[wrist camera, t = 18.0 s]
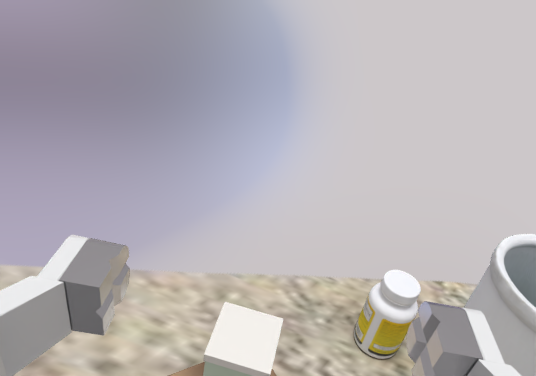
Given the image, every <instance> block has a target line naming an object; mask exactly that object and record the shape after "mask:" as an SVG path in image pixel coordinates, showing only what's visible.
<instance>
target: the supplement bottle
mask: <svg viewBox="0 0 536 376" xmlns="http://www.w3.org/2000/svg"><path fill="white" fill-rule="evenodd" d="M420 291H421V288H420V285H419V283H418V281H417V280H416V279H415V278H414V277H412V276H411V275H410V274H408V273H406V272H404V271H400V270H391V271H388V272H387V273H386V274H385V275H384V277H383V279H382V281H381V283H378V284H376V285H375V286H374V287H373V288H372V289H371V291H370V293H369V295H368V297H367V300H366V302H365V304H364V307H363V309H362V311H361V314H360V316H359V319H358V321H357V323H356V326H355V329H354V338H355V341H356V343H357V344H358V346H359V347H360V348H361V349H362V350H363V351H364V352H365V353H367V354H368V355H370V356H372V357H375V358H379V359H386V358H390V357H392V356H393V355H394V354H395V353H396V352H397V350H398V349H399V347H400V345H401V343H402V341H403V339H404V338H405V336H406V334H407V332H408V328H409V326H410V324H411V322H412V321H413V320H414V319H415V317H416V314H417V311H418V305H417V301H416V300H417V298H418V296H419V294H420Z"/></svg>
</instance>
